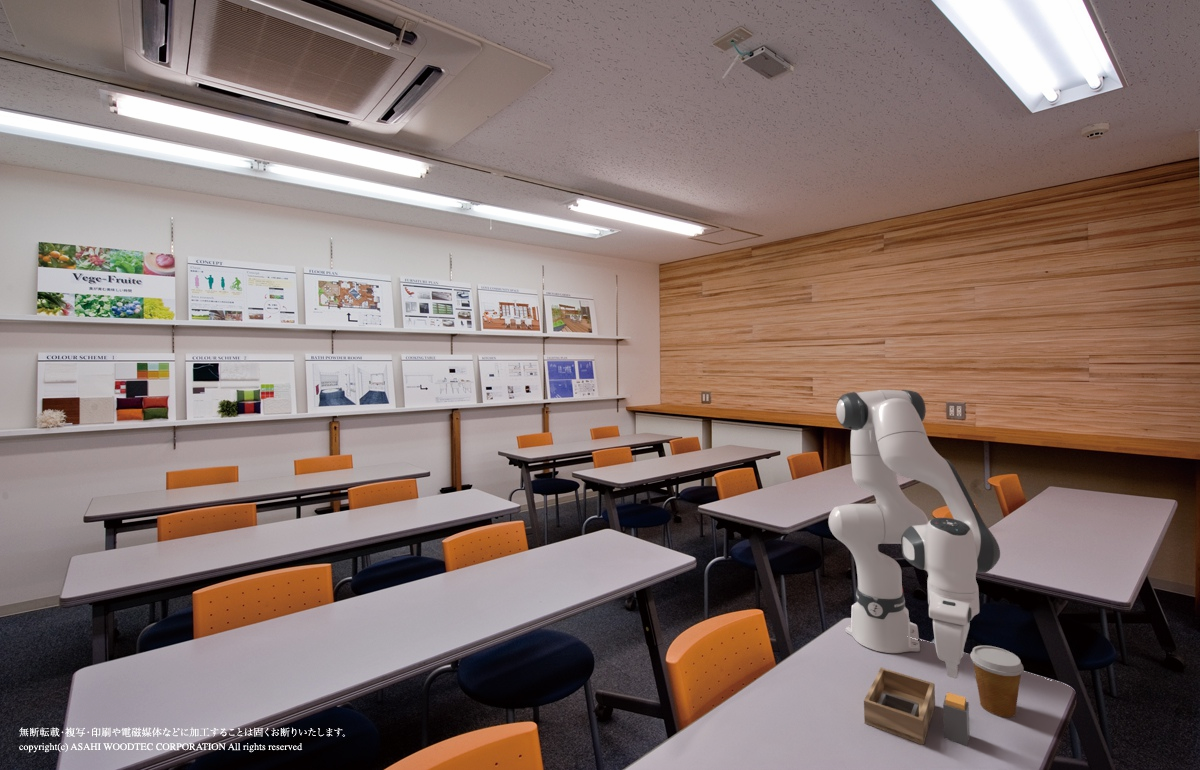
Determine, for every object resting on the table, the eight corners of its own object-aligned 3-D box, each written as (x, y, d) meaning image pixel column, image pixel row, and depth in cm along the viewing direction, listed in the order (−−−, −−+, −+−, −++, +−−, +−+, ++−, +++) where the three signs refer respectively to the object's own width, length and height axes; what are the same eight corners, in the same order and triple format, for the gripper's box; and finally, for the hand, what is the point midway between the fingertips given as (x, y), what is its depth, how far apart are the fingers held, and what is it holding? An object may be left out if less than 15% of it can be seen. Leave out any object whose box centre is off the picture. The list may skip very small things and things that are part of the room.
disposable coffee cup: (1009, 697, 119) (1007, 645, 119) (1035, 724, 110) (1033, 668, 110) (963, 693, 121) (961, 643, 121) (984, 720, 112) (983, 665, 112)
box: (881, 687, 125) (880, 667, 124) (935, 705, 117) (934, 683, 117) (864, 723, 112) (863, 700, 112) (923, 745, 105) (922, 720, 105)
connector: (946, 727, 110) (945, 690, 110) (969, 735, 108) (968, 697, 107) (944, 737, 107) (942, 699, 107) (967, 746, 104) (966, 707, 104)
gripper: (941, 580, 117) (944, 641, 117) (927, 612, 101) (930, 682, 101) (976, 586, 113) (978, 649, 113) (966, 621, 97) (969, 694, 97)
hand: (955, 665), depth 107 cm, fingers open, 8 cm apart
